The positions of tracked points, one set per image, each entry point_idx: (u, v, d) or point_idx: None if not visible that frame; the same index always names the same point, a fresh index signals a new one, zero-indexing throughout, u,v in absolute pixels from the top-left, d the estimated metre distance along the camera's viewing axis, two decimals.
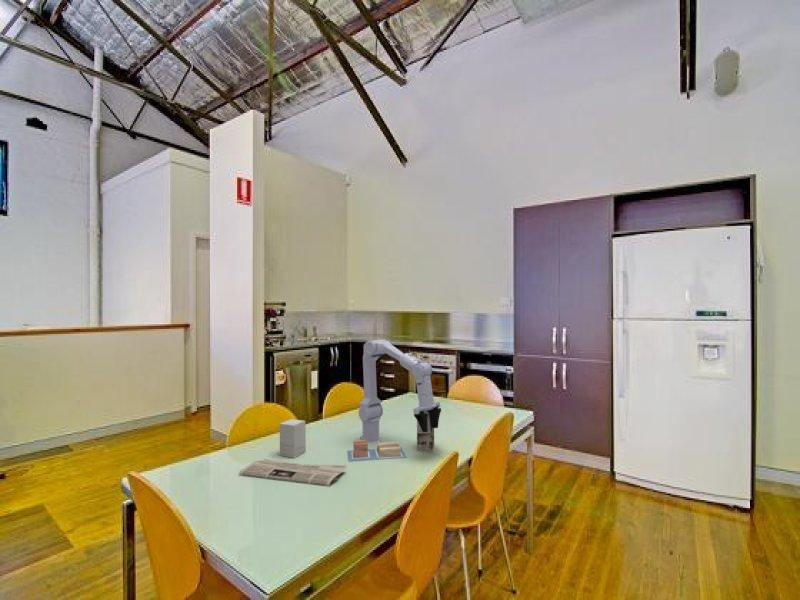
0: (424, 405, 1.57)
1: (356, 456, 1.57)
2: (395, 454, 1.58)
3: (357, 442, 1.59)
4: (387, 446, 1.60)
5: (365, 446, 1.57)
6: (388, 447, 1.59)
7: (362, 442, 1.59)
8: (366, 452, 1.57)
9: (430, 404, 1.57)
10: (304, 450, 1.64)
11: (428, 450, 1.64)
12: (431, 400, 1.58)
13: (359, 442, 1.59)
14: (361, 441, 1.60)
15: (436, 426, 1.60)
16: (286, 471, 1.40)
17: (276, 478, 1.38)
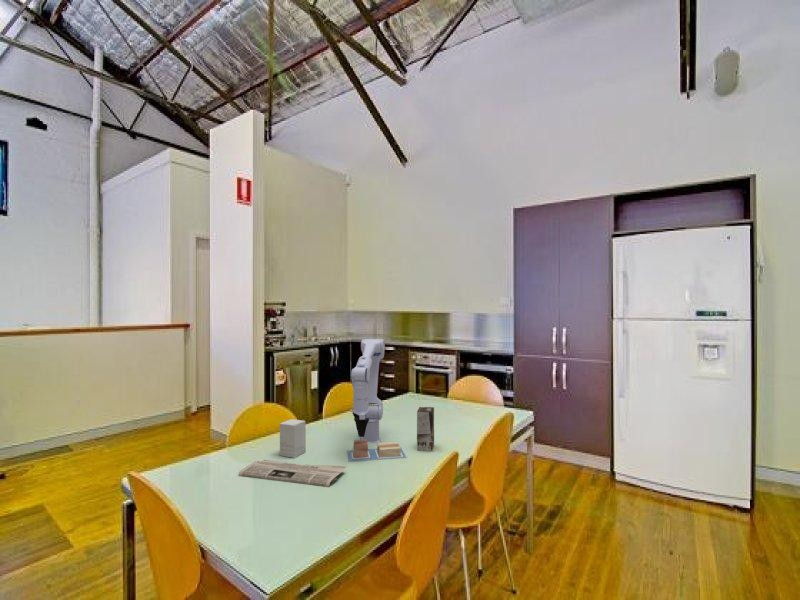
0: None
1: (356, 456, 1.57)
2: (395, 454, 1.58)
3: (357, 442, 1.59)
4: (387, 446, 1.60)
5: (365, 446, 1.57)
6: (388, 447, 1.59)
7: (362, 442, 1.59)
8: (366, 452, 1.57)
9: None
10: (304, 450, 1.64)
11: (428, 451, 1.64)
12: (353, 405, 1.60)
13: (359, 442, 1.59)
14: (361, 441, 1.60)
15: None
16: (285, 472, 1.40)
17: (275, 478, 1.38)
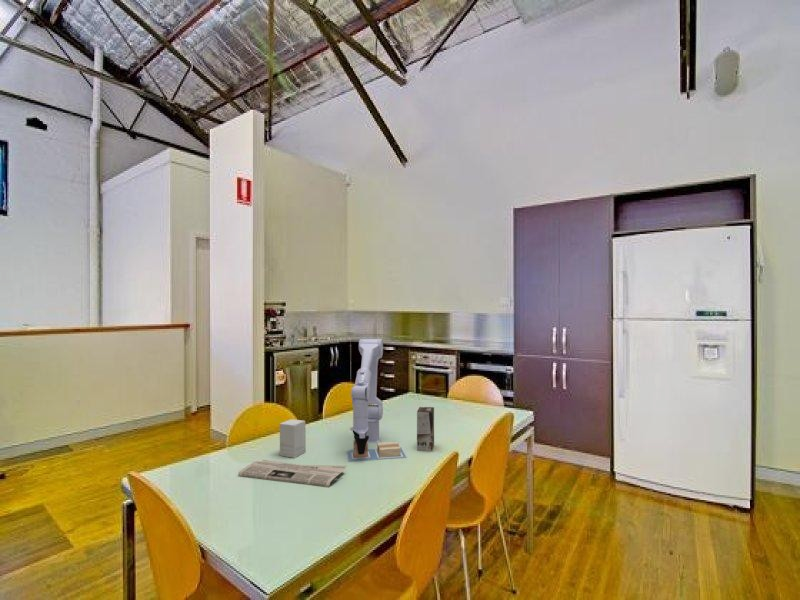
0: None
1: (356, 456, 1.57)
2: (395, 454, 1.58)
3: None
4: (387, 446, 1.60)
5: None
6: (388, 447, 1.59)
7: None
8: (366, 452, 1.57)
9: None
10: (304, 450, 1.64)
11: (428, 451, 1.64)
12: (353, 423, 1.60)
13: None
14: None
15: None
16: (285, 472, 1.40)
17: (275, 479, 1.38)
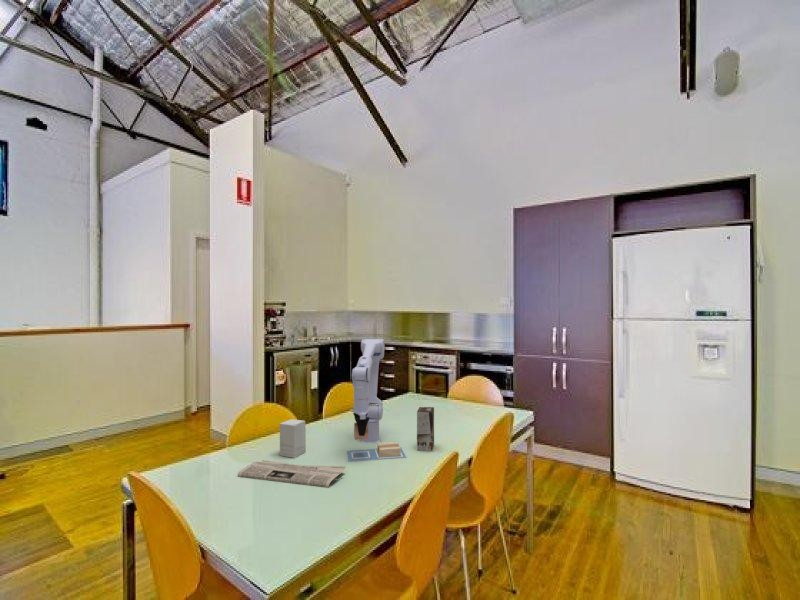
0: None
1: (357, 438, 1.57)
2: (395, 454, 1.58)
3: None
4: (387, 446, 1.60)
5: None
6: (388, 447, 1.59)
7: None
8: (366, 434, 1.58)
9: None
10: (304, 450, 1.64)
11: (428, 451, 1.64)
12: None
13: None
14: None
15: None
16: (284, 472, 1.39)
17: (275, 479, 1.37)
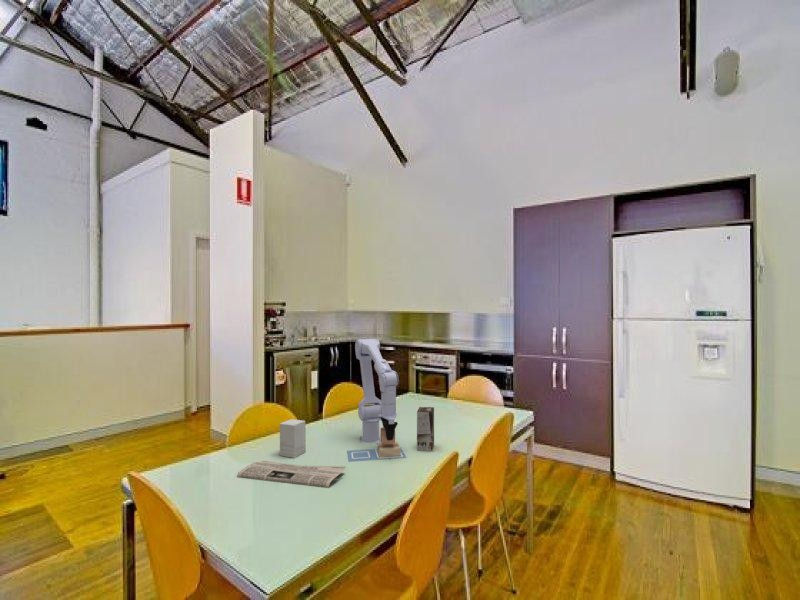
0: None
1: (384, 443, 1.59)
2: (395, 454, 1.58)
3: (384, 429, 1.61)
4: (387, 446, 1.60)
5: None
6: (388, 447, 1.59)
7: None
8: (393, 439, 1.59)
9: None
10: (304, 450, 1.64)
11: (428, 451, 1.64)
12: (381, 409, 1.62)
13: None
14: None
15: None
16: (284, 473, 1.39)
17: (275, 479, 1.37)
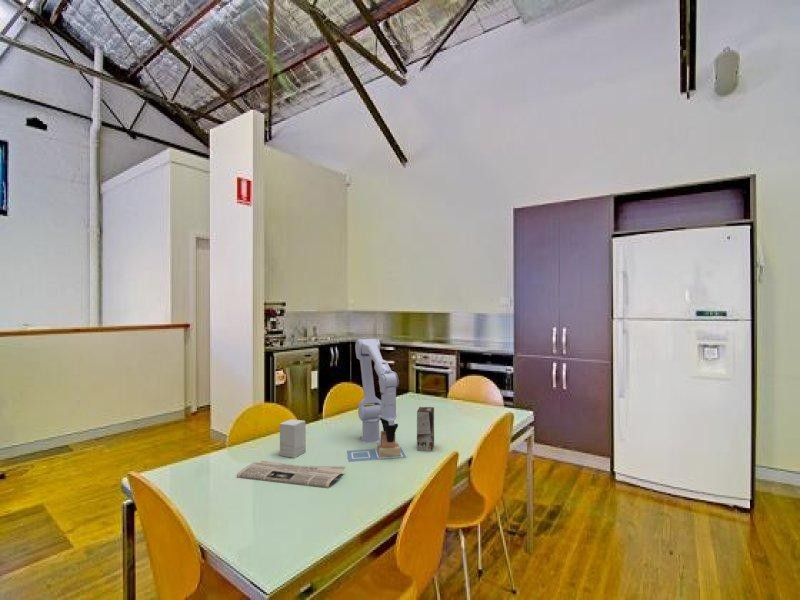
0: None
1: (384, 446, 1.59)
2: (395, 454, 1.58)
3: (385, 432, 1.61)
4: None
5: None
6: None
7: None
8: (394, 443, 1.60)
9: None
10: (304, 450, 1.64)
11: (428, 451, 1.64)
12: (381, 410, 1.62)
13: None
14: None
15: None
16: (284, 473, 1.39)
17: (274, 480, 1.37)
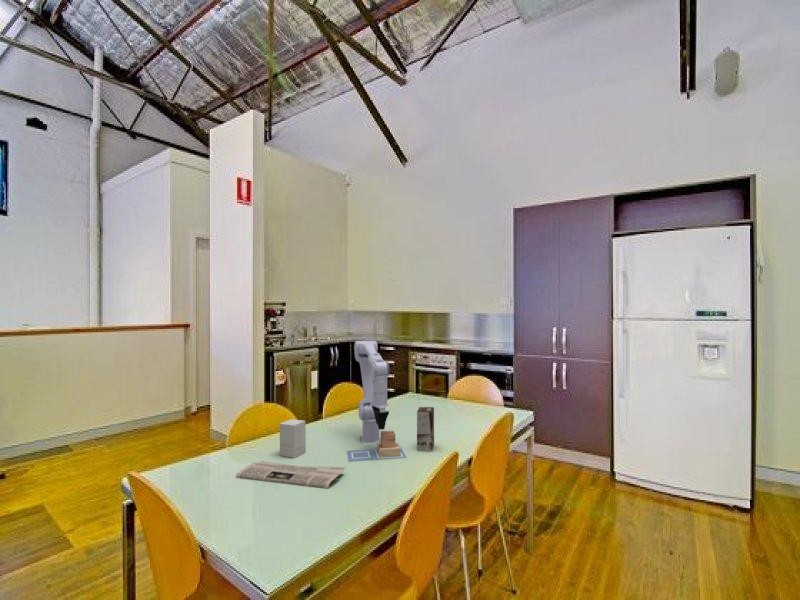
0: None
1: (384, 446, 1.59)
2: (395, 454, 1.58)
3: (385, 432, 1.61)
4: None
5: (392, 437, 1.60)
6: None
7: (389, 433, 1.61)
8: (394, 443, 1.60)
9: None
10: (304, 450, 1.64)
11: (428, 451, 1.64)
12: (373, 398, 1.64)
13: (387, 432, 1.61)
14: (388, 432, 1.63)
15: None
16: (283, 474, 1.38)
17: (274, 480, 1.36)
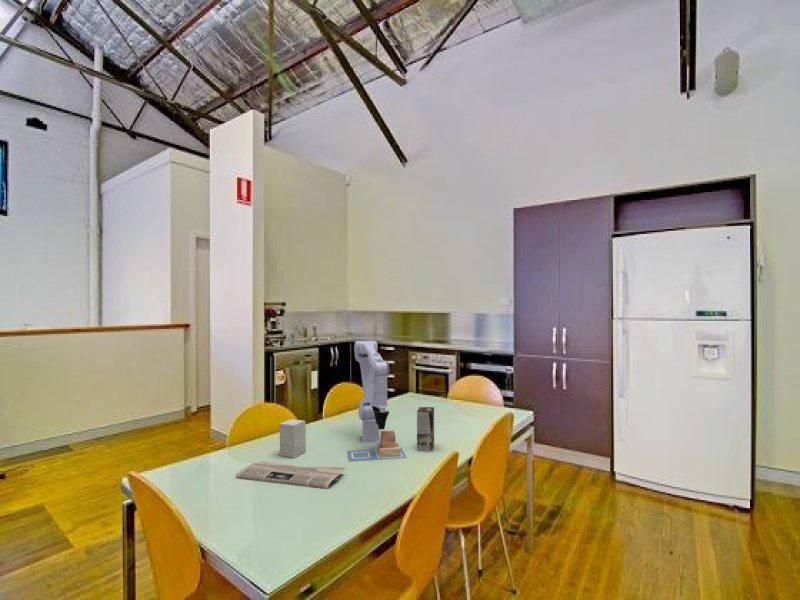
0: None
1: (384, 446, 1.59)
2: (395, 454, 1.58)
3: (385, 432, 1.61)
4: None
5: (392, 437, 1.60)
6: None
7: (389, 433, 1.61)
8: (394, 443, 1.60)
9: None
10: (304, 450, 1.64)
11: (428, 451, 1.64)
12: (373, 398, 1.64)
13: (387, 432, 1.61)
14: (388, 432, 1.63)
15: None
16: (283, 474, 1.38)
17: (273, 481, 1.36)
